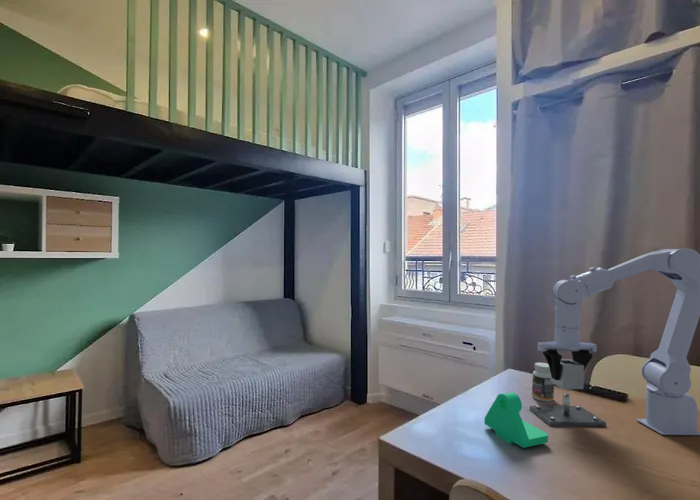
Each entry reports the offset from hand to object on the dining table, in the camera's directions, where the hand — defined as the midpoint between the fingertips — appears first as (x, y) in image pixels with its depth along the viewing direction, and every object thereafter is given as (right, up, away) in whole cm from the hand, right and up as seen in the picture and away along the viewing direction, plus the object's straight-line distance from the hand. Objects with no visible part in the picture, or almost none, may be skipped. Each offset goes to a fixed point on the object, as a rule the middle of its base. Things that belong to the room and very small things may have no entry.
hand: (566, 379), depth 100 cm
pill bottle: (0, -10, +13) cm, 16 cm away
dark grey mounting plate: (0, -10, 0) cm, 10 cm away
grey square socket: (0, -2, 0) cm, 2 cm away
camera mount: (-18, -10, -11) cm, 23 cm away
